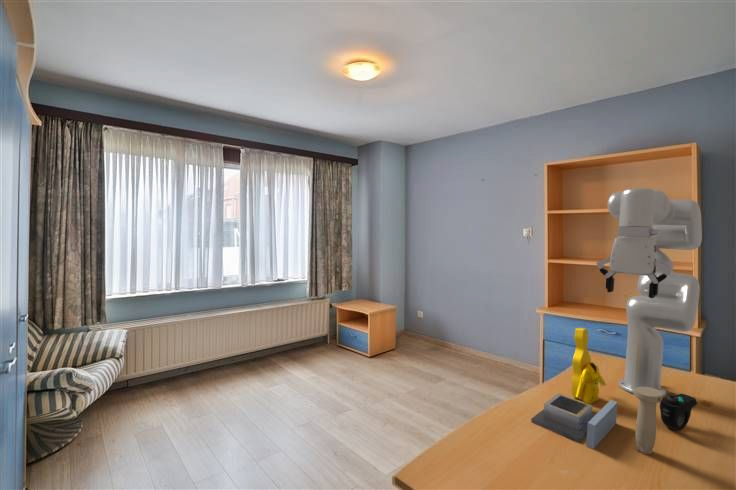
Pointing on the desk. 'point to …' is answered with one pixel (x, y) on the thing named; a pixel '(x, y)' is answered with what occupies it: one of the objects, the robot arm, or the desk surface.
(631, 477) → the desk surface
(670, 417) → the controller
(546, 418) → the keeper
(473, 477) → the desk surface
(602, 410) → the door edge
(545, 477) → the desk surface
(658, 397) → the handle
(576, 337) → the figure statuette
